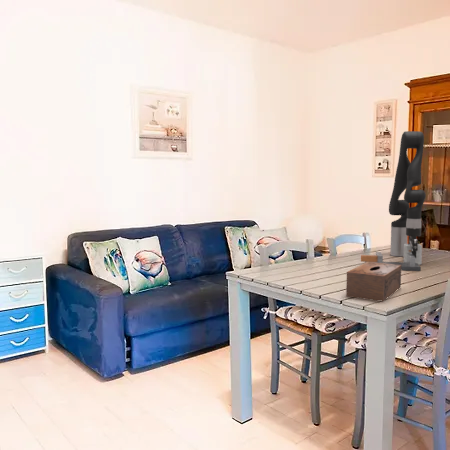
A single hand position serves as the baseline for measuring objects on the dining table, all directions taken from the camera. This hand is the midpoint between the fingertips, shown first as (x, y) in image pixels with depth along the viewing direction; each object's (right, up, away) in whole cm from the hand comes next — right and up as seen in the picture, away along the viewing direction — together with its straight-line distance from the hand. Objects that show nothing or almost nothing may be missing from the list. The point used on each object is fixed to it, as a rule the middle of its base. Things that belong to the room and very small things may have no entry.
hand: (412, 257), depth 246 cm
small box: (0, -4, +1) cm, 4 cm away
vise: (-15, -5, -10) cm, 19 cm away
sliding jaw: (-25, -3, -8) cm, 26 cm away
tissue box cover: (-40, -11, -59) cm, 72 cm away
